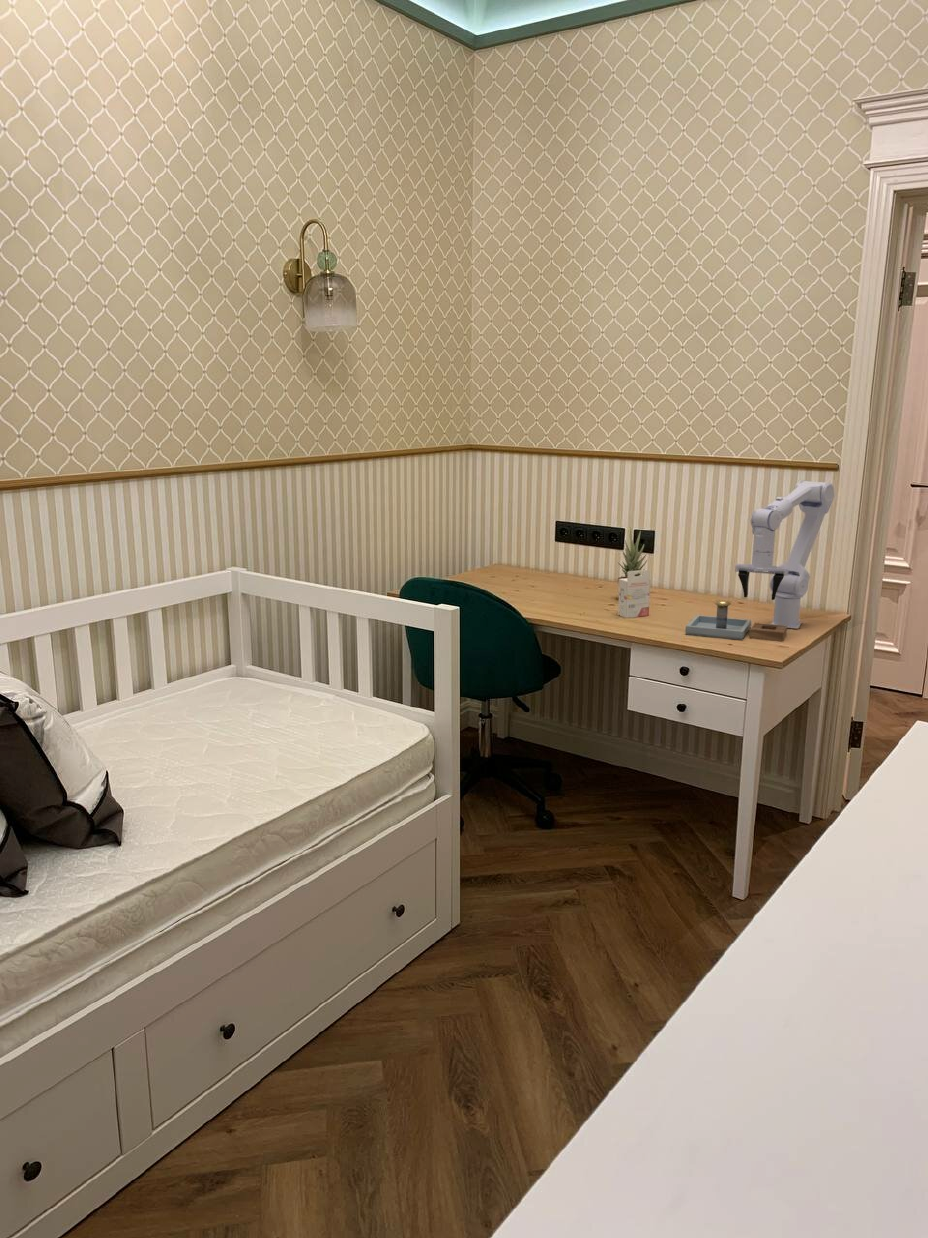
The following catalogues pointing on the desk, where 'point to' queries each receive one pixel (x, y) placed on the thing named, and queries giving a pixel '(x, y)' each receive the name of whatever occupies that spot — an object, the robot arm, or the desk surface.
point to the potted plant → (632, 557)
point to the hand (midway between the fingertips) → (759, 598)
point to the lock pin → (722, 613)
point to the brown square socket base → (768, 632)
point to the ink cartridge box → (634, 594)
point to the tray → (708, 628)
